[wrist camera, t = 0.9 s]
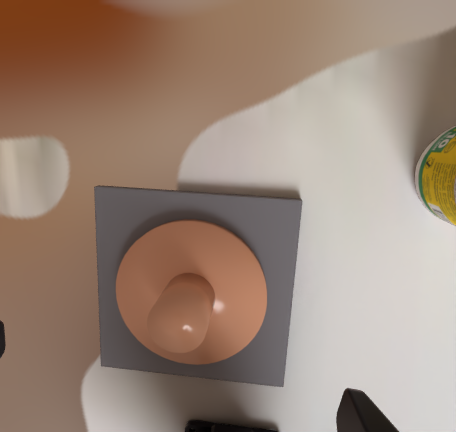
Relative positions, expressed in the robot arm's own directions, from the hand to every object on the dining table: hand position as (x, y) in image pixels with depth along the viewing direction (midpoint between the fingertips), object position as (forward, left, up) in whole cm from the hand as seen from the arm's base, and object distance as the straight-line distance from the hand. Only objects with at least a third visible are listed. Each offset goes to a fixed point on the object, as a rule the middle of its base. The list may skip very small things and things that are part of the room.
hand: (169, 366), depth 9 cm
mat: (-3, +2, -12) cm, 12 cm away
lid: (-3, +2, -11) cm, 12 cm away
